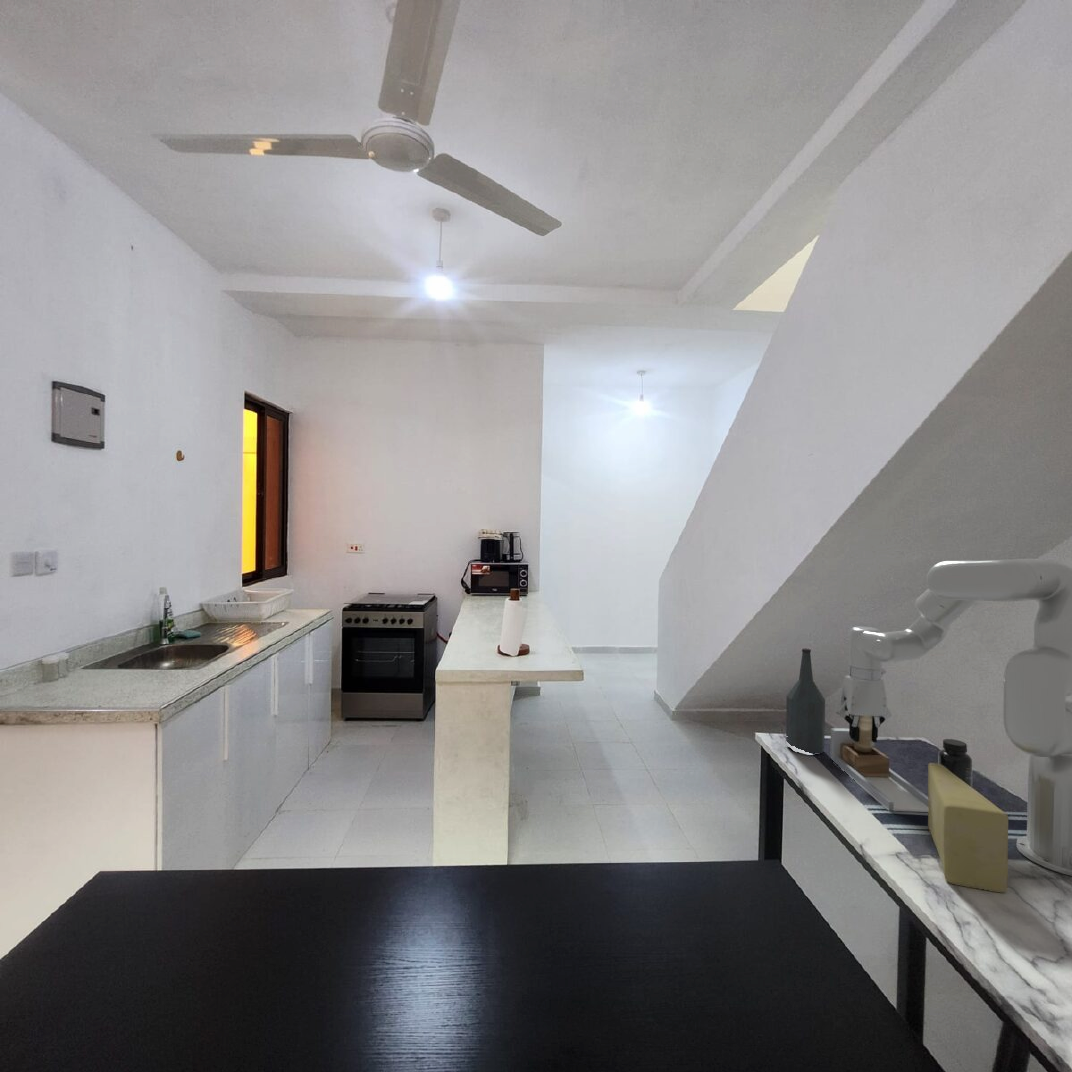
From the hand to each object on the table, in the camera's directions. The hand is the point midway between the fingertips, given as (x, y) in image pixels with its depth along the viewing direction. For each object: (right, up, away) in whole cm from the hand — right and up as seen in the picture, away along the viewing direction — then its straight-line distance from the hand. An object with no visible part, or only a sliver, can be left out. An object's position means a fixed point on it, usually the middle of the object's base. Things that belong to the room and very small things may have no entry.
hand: (863, 739), depth 147 cm
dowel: (0, -3, 0) cm, 3 cm away
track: (0, -9, -7) cm, 11 cm away
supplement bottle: (+17, -9, -10) cm, 22 cm away
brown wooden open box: (0, -8, 0) cm, 8 cm away
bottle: (-9, -8, +14) cm, 19 cm away
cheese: (-5, -9, -38) cm, 39 cm away
